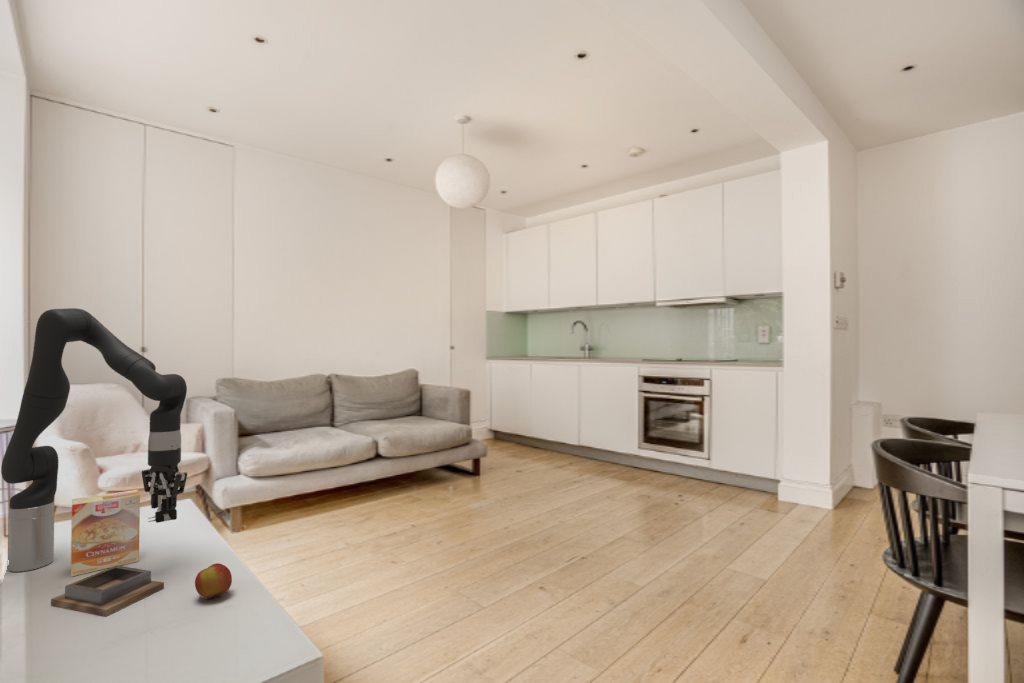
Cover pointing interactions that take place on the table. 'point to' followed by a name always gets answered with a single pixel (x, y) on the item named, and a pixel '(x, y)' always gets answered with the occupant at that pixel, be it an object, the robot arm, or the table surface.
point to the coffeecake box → (104, 531)
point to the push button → (163, 506)
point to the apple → (213, 581)
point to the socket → (89, 593)
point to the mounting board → (109, 606)
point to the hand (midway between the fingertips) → (163, 508)
